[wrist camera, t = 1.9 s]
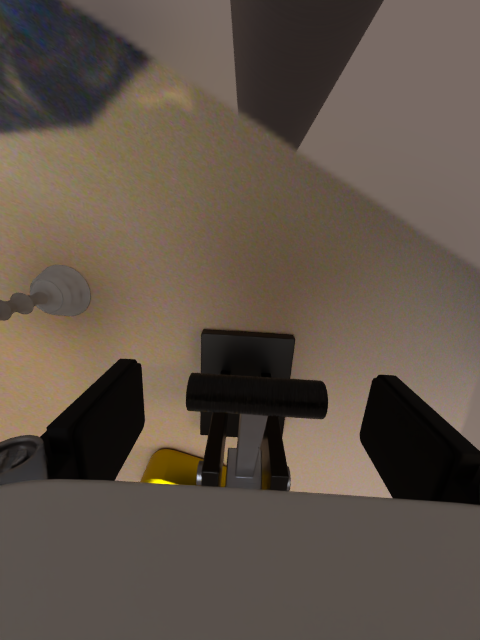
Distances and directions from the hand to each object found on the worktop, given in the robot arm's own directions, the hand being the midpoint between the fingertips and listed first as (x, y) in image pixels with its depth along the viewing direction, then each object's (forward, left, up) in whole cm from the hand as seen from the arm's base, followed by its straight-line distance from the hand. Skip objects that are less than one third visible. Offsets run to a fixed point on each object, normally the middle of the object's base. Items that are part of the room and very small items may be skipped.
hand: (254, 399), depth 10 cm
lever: (+4, 0, -3) cm, 5 cm away
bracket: (+9, 0, -15) cm, 17 cm away
